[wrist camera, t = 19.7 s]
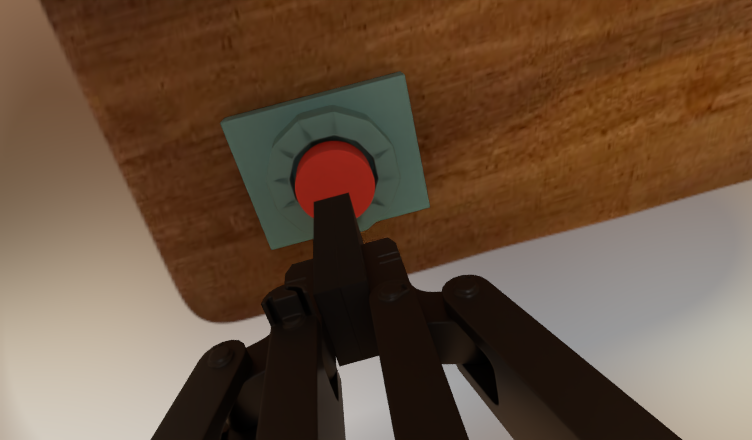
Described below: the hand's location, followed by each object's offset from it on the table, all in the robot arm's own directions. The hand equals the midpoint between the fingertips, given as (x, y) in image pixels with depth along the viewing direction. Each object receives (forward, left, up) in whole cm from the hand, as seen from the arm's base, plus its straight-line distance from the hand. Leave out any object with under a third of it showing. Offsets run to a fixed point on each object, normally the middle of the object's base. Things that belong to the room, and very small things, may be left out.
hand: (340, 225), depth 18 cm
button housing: (0, 0, -8) cm, 8 cm away
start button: (0, 0, -6) cm, 6 cm away
